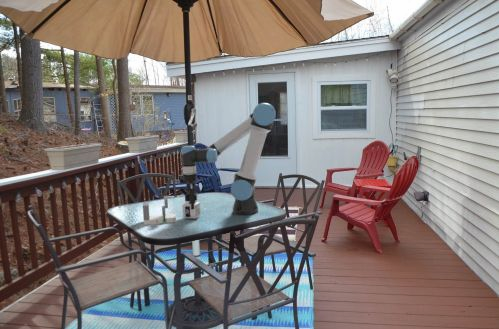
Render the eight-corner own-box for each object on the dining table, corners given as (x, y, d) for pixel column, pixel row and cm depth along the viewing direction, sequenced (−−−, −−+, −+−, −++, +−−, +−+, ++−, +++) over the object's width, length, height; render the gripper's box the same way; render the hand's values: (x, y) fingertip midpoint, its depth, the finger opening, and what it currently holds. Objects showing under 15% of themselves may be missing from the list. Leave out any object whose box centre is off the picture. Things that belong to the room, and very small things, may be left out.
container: (196, 218, 208) (194, 195, 207) (183, 218, 210) (181, 195, 208) (200, 214, 216) (199, 192, 214) (187, 214, 217) (186, 192, 216)
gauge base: (175, 217, 215) (174, 199, 214) (176, 221, 206) (175, 203, 205) (144, 220, 211) (142, 202, 209) (144, 225, 202) (142, 205, 201)
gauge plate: (167, 216, 214) (166, 196, 212) (168, 221, 204) (167, 199, 203) (162, 217, 213) (161, 196, 212) (163, 221, 203) (161, 200, 202)
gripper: (181, 171, 220) (183, 208, 222) (184, 176, 198) (187, 218, 201) (193, 170, 222) (195, 207, 224) (198, 175, 200) (201, 216, 203)
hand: (191, 212), depth 213 cm, fingers closed on container, 10 cm apart
